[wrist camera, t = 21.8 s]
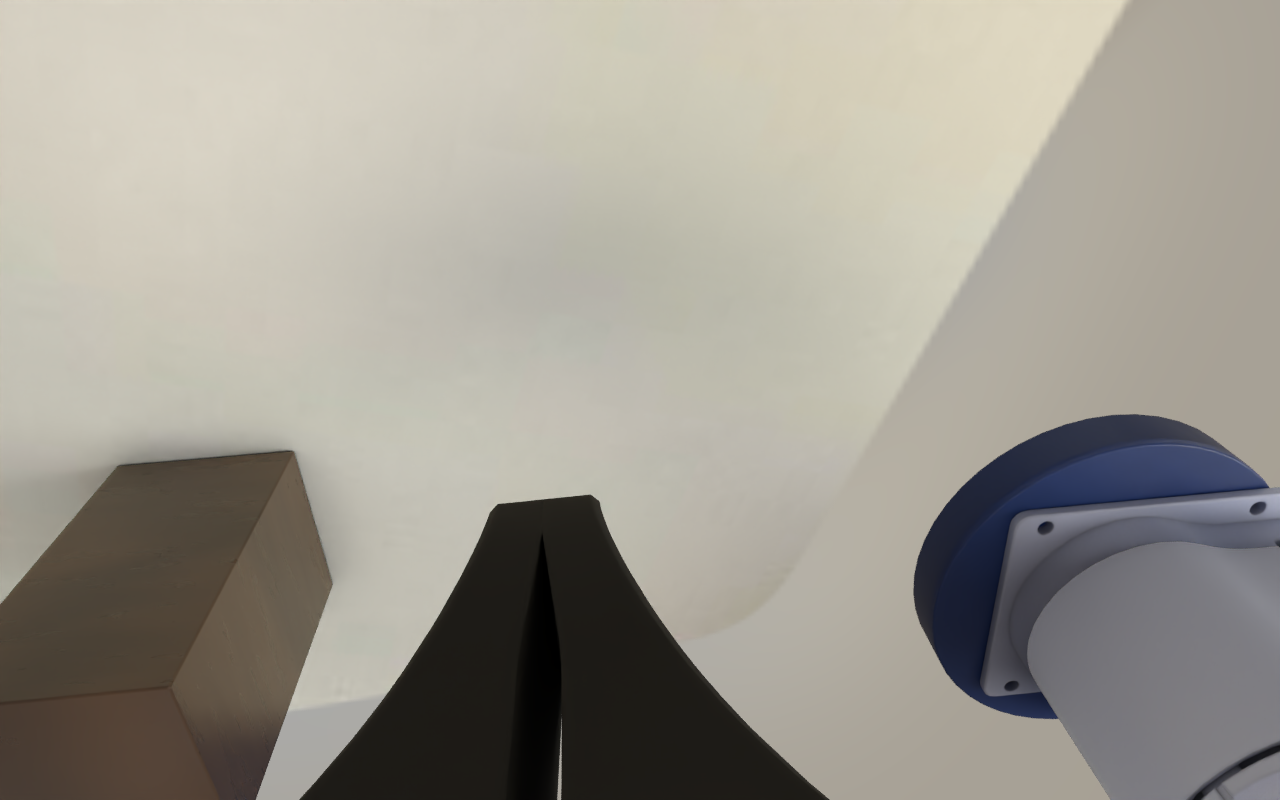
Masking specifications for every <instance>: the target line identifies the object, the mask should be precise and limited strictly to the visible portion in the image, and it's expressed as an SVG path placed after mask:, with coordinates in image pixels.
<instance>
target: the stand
mask: <svg viewBox="0 0 1280 800" xmlns="http://www.w3.org/2000/svg"><path fill="white" fill-rule="evenodd" d="M332 585H333V584H332V581H331V577H330V574H329V571H328V567H327V564H326V560H325V557H324V553H323V550H322V546H321V543H320V540H319V536H318V533H317V529H316V526H315V522H314V519H313V515H312V512H311V509H310V505H309V502H308V498H307V495H306V491H305V488H304V484H303V481H302V478H301V474H300V471H299V467H298V464H297V460H296V457H295V453H294V452H293V451H291V452H279V453H267V454H256V455H244V456H232V457H221V458H209V459H197V460H185V461H174V462H162V463H150V464H139V465H127V466H118V467H117V468H116V469H115V470H114V471H113V472H112V473H111V475H110V476H109V477H108V478H107V479H106V480H105V482H104V483H103V484H102V485H101V486H100V488H99V489H98V490H97V491H96V492H95V493H94V495H93V496H92V497H91V498H90V499H89V501H88V502H87V503H86V504H85V505H84V506H83V508H82V509H81V510H80V511H79V512H78V513H77V515H76V516H75V517H74V518H73V519H72V521H71V522H70V523H69V524H68V525H67V526H66V528H65V529H64V530H63V531H62V532H61V533H60V535H59V536H58V537H57V538H56V539H55V541H54V542H53V543H52V544H51V545H50V546H49V548H48V549H47V550H46V551H45V552H44V553H43V555H42V556H41V557H40V558H39V559H38V561H37V562H36V563H35V564H34V565H33V566H32V568H31V569H30V570H29V571H28V572H27V574H26V575H25V576H24V577H23V578H22V579H21V581H20V582H19V583H18V584H17V585H16V586H15V588H14V589H13V590H12V591H11V592H10V594H9V595H8V596H7V597H6V598H5V599H4V601H3V602H2V603H1V604H0V800H256V797H257V794H258V791H259V788H260V786H261V783H262V780H263V777H264V775H265V772H266V769H267V766H268V763H269V761H270V758H271V755H272V752H273V750H274V747H275V744H276V741H277V738H278V736H279V732H280V730H281V727H282V724H283V722H284V719H285V716H286V713H287V710H288V708H289V705H290V702H291V699H292V696H293V694H294V691H295V688H296V685H297V683H298V680H299V677H300V674H301V671H302V669H303V666H304V663H305V660H306V657H307V655H308V652H309V649H310V646H311V643H312V641H313V638H314V635H315V632H316V630H317V627H318V624H319V621H320V618H321V616H322V613H323V610H324V607H325V604H326V602H327V599H328V596H329V593H330V590H331V588H332Z"/></svg>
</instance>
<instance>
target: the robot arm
mask: <svg viewBox="0 0 1280 800" xmlns="http://www.w3.org/2000/svg"><path fill="white" fill-rule="evenodd" d="M1253 504H1254V505H1253ZM1252 505H1253V506H1252ZM1046 521H1047V522H1046ZM1043 522H1046V524H1044V525H1043V526H1041V527H1039V525H1040V524H1042V523H1043ZM980 686H981V687H982V689H983V691H984V692H985V694H986V695H989V696H1005V695H1015V694H1024V693H1034V692H1042V693H1043V695H1044V696H1045V698H1046V699H1047V701H1048V702H1049V704H1050V706H1051V707H1052V709H1053V710H1054V712H1055V713H1056V715H1057V717H1058V718H1059V720H1060V721H1061V723H1062V724H1063V726H1064V727H1065V729H1066V731H1067V732H1068V734H1069V735H1070V737H1071V738H1072V740H1073V741H1074V743H1075V745H1076V746H1077V748H1078V749H1079V751H1080V753H1081V754H1082V756H1083V757H1084V759H1085V760H1086V762H1087V763H1088V765H1089V766H1090V768H1091V770H1092V771H1093V773H1094V775H1095V776H1096V778H1097V779H1098V781H1099V782H1100V784H1101V786H1102V787H1103V788H1104V790H1105V792H1106V793H1107V795H1108V796H1109V798H1110V800H1280V487H1274V488H1264V489H1253V490H1242V491H1231V492H1220V493H1209V494H1198V495H1188V496H1177V497H1166V498H1155V499H1144V500H1133V501H1122V502H1112V503H1101V504H1090V505H1079V506H1068V507H1057V508H1046V509H1035V510H1027V511H1023V512H1020V513H1019V514H1017V515H1016V516H1015V517H1014V518H1013V519H1012V521H1011V523H1010V527H1009V532H1008V537H1007V542H1006V548H1005V553H1004V558H1003V563H1002V568H1001V574H1000V579H999V584H998V589H997V595H996V600H995V605H994V610H993V615H992V621H991V626H990V631H989V636H988V642H987V647H986V652H985V657H984V662H983V668H982V673H981V678H980ZM561 718H562V789H561V791H562V792H561V794H562V795H561V800H829V799H828V798H827V797H825V796H824V795H823V794H822V793H821V792H820V791H818V790H817V789H816V788H815V787H814V786H812V785H811V784H810V783H809V782H808V781H807V780H806V779H805V778H803V776H801V775H800V774H799V773H798V772H797V771H796V770H795V769H794V768H793V767H792V766H791V765H790V764H789V763H787V762H786V761H785V760H784V759H783V758H782V757H781V756H780V755H779V754H778V753H777V752H776V751H775V750H774V749H773V748H772V747H771V746H769V745H768V744H767V743H766V742H765V741H764V740H763V739H762V738H761V737H759V735H758V734H757V733H756V732H755V731H753V730H752V729H751V728H750V727H749V726H748V725H747V723H746V722H745V721H744V720H743V719H742V718H741V717H740V716H739V715H738V714H737V713H736V712H735V711H734V710H733V709H732V707H731V706H730V705H729V704H728V703H727V702H726V701H725V700H724V699H723V698H722V697H721V696H720V695H719V693H718V692H717V691H716V690H715V689H714V687H713V686H712V685H711V684H710V683H709V682H708V681H707V679H706V678H705V677H704V676H703V675H702V674H701V672H700V671H699V670H698V669H697V668H696V666H695V665H694V664H693V663H692V661H691V660H690V659H689V658H688V657H687V655H686V654H685V653H684V651H683V650H682V649H681V647H680V646H679V645H678V643H677V642H676V641H675V639H674V638H673V636H672V635H671V634H670V632H669V631H668V630H667V628H666V627H665V625H664V624H663V623H662V621H661V620H660V618H659V617H658V615H657V614H656V613H655V611H654V610H653V608H652V607H651V605H650V604H649V602H648V601H647V599H646V597H645V596H644V594H643V592H642V591H641V589H640V587H639V586H638V584H637V583H636V581H635V579H634V578H633V576H632V574H631V573H630V571H629V569H628V568H627V566H626V564H625V562H624V560H623V559H622V557H621V555H620V553H619V551H618V549H617V547H616V545H615V543H614V541H613V539H612V537H611V534H610V532H609V530H608V527H607V525H606V522H605V520H604V517H603V514H602V511H601V507H600V502H599V501H598V500H597V499H596V498H594V497H593V496H592V495H583V496H573V497H563V498H554V499H544V500H534V501H525V502H515V503H505V504H498V505H497V506H496V507H495V508H494V509H493V510H492V511H491V512H490V514H489V517H488V520H487V522H486V525H485V527H484V529H483V532H482V534H481V536H480V539H479V541H478V543H477V545H476V547H475V549H474V552H473V554H472V556H471V558H470V560H469V562H468V564H467V566H466V568H465V569H464V571H463V573H462V575H461V577H460V579H459V581H458V583H457V584H456V586H455V588H454V590H453V591H452V593H451V595H450V597H449V599H448V600H447V602H446V604H445V606H444V608H443V609H442V611H441V613H440V615H439V616H438V618H437V620H436V621H435V623H434V625H433V626H432V628H431V629H430V631H429V632H428V634H427V635H426V637H425V639H424V640H423V642H422V643H421V645H420V646H419V648H418V649H417V651H416V652H415V654H414V656H413V657H412V659H411V660H410V662H409V663H408V665H407V666H406V668H405V669H404V671H403V672H402V674H401V675H400V677H399V678H398V679H397V681H396V682H395V684H394V685H393V686H392V688H391V689H390V691H389V692H388V693H387V695H386V696H385V698H384V699H383V700H382V702H381V703H380V704H379V706H378V707H377V708H376V710H375V711H374V712H373V713H372V715H371V716H370V717H369V718H368V720H367V721H366V722H365V724H364V725H363V726H362V727H361V729H360V730H359V731H358V733H357V734H356V735H355V736H354V738H353V739H352V740H351V741H350V742H349V744H348V745H347V746H346V747H345V748H344V749H343V751H342V752H341V753H340V754H339V755H338V756H337V757H336V759H335V760H334V761H333V762H332V763H331V764H330V766H329V767H328V768H327V769H326V770H325V771H324V773H323V774H322V775H321V776H320V778H318V780H317V781H316V782H315V783H314V784H313V785H312V787H311V788H310V789H309V790H308V791H307V792H306V793H305V794H304V795H303V796H302V797H301V798H300V800H557V792H558V774H559V755H560V737H561Z"/></svg>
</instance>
